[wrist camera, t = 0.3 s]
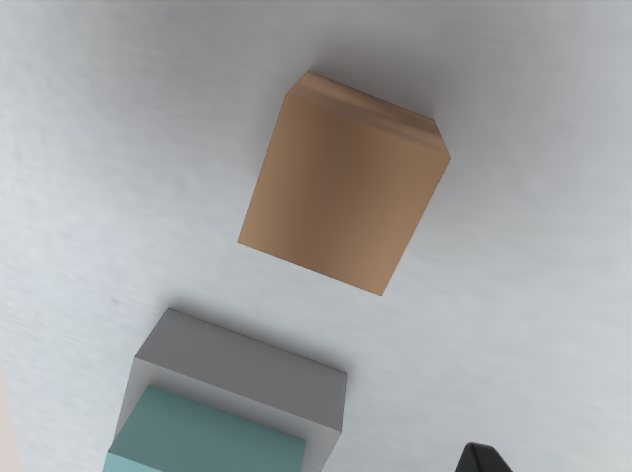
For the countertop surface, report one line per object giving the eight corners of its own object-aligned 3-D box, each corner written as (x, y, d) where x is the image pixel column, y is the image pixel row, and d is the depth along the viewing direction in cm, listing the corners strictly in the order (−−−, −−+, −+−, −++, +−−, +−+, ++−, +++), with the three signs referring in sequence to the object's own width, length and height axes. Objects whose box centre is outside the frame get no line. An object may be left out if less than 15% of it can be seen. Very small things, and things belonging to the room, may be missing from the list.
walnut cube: (434, 120, 19) (451, 158, 15) (381, 233, 21) (381, 296, 17) (308, 70, 19) (285, 93, 14) (267, 189, 21) (237, 242, 17)
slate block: (347, 368, 25) (341, 432, 21) (288, 485, 29) (275, 555, 25) (170, 303, 24) (134, 357, 21) (135, 431, 28) (99, 494, 25)
